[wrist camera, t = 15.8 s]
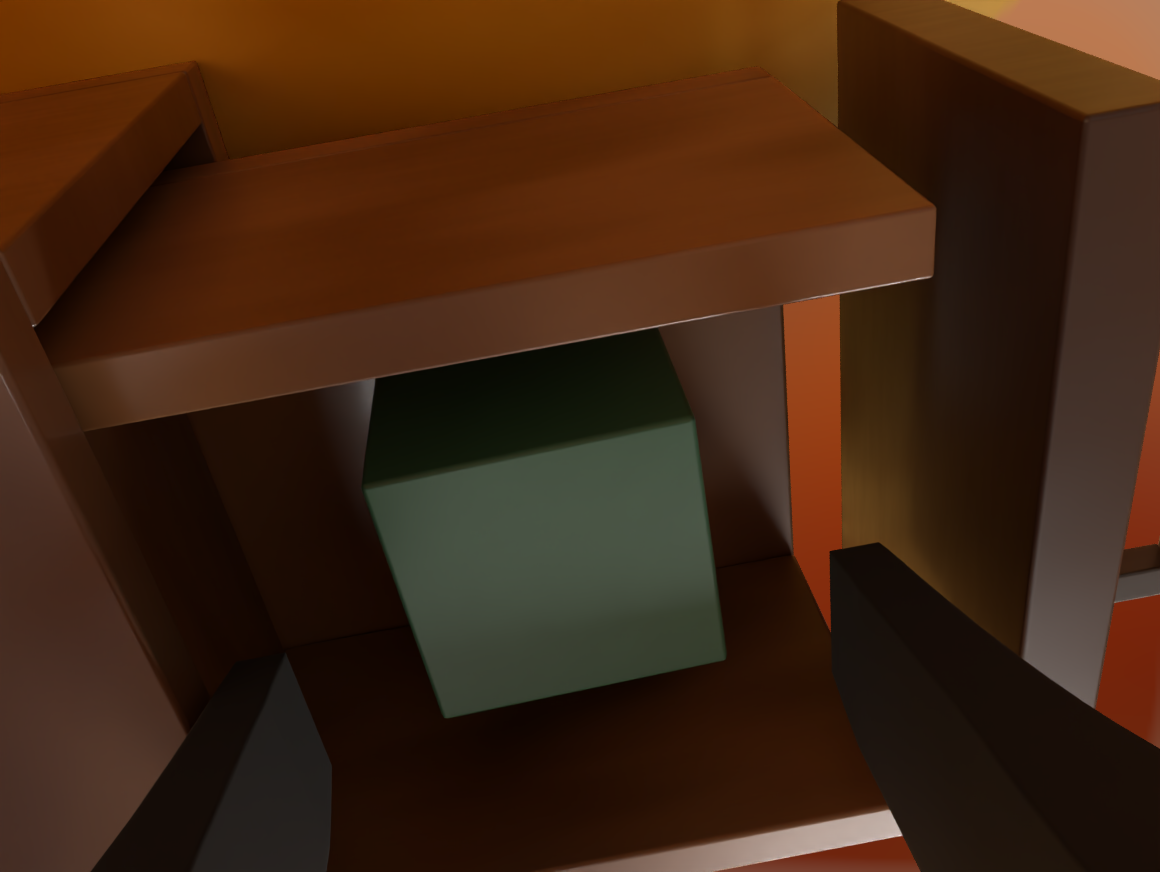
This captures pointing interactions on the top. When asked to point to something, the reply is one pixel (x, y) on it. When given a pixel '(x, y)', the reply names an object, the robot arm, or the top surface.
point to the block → (545, 520)
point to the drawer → (713, 389)
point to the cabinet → (79, 483)
